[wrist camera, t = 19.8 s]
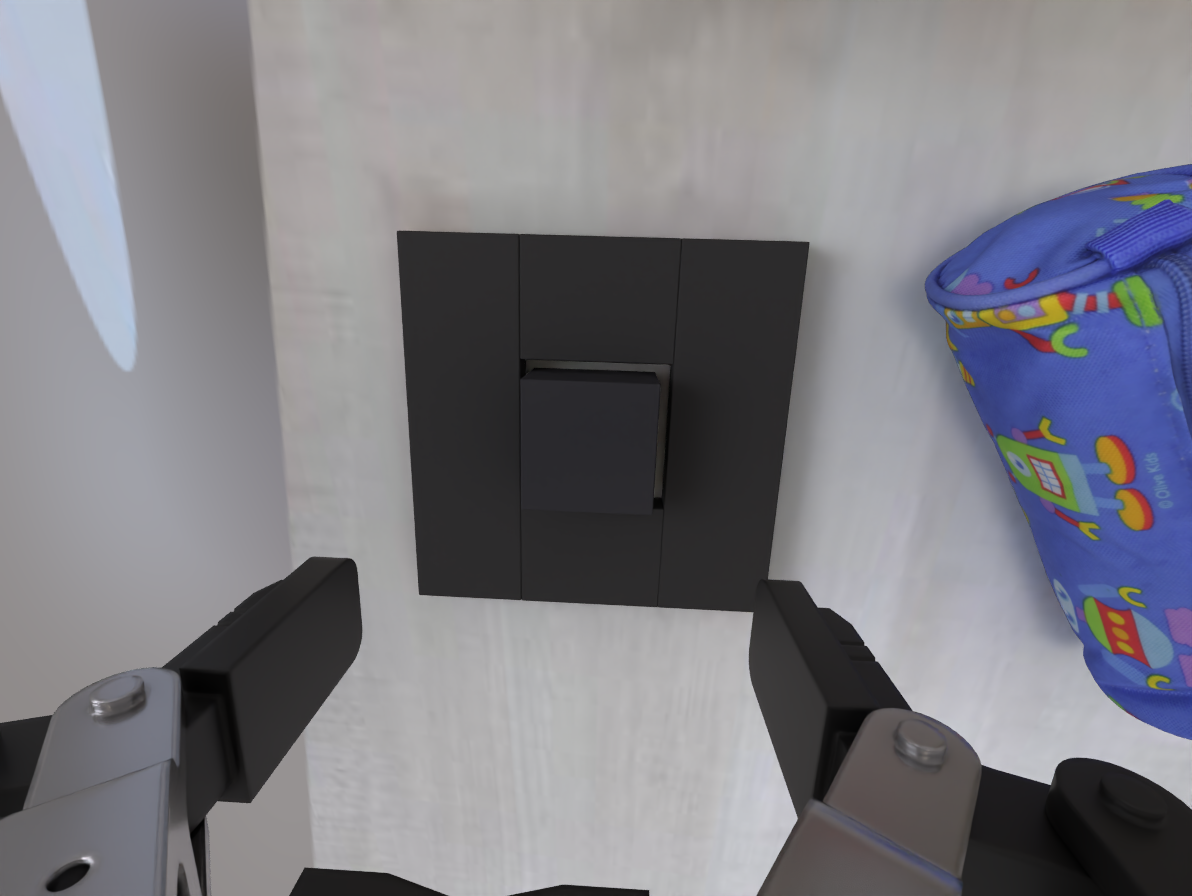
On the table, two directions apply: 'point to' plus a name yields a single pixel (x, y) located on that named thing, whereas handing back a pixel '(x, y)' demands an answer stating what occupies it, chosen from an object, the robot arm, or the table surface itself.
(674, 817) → the table surface
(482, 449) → the socket pad
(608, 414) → the plug pad
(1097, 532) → the pencil case
